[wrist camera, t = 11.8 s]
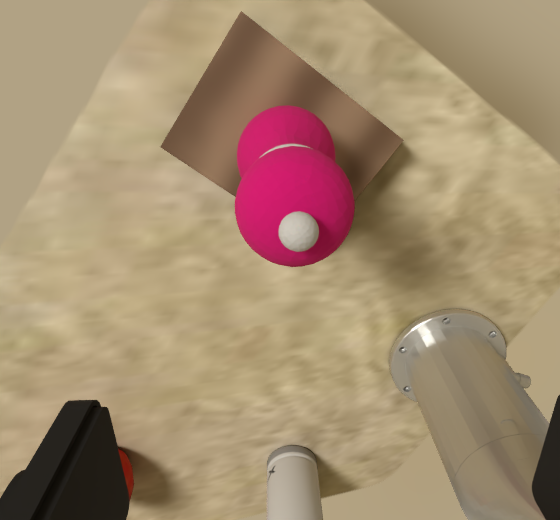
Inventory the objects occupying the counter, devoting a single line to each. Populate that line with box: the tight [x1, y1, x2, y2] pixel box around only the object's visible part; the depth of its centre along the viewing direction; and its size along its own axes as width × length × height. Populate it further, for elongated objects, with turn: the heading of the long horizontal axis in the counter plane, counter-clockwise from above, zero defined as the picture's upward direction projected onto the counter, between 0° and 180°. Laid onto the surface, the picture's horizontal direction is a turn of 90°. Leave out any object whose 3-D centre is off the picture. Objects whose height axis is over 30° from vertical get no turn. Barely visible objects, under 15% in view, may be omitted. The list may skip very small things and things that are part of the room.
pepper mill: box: [235, 105, 355, 267], centre depth 28 cm, size 7×7×20 cm
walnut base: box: [161, 11, 404, 201], centre depth 38 cm, size 16×12×3 cm
